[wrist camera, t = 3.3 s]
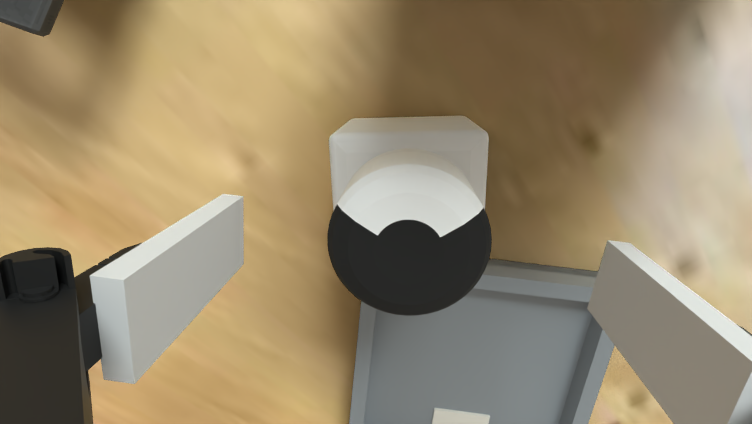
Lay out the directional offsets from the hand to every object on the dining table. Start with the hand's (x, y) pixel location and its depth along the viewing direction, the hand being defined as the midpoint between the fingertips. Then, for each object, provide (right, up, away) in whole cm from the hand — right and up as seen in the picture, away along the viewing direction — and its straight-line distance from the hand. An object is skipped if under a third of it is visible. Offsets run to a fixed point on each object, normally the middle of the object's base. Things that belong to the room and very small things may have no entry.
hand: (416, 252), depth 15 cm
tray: (+5, -9, +15) cm, 18 cm away
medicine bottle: (+1, +4, +11) cm, 12 cm away
